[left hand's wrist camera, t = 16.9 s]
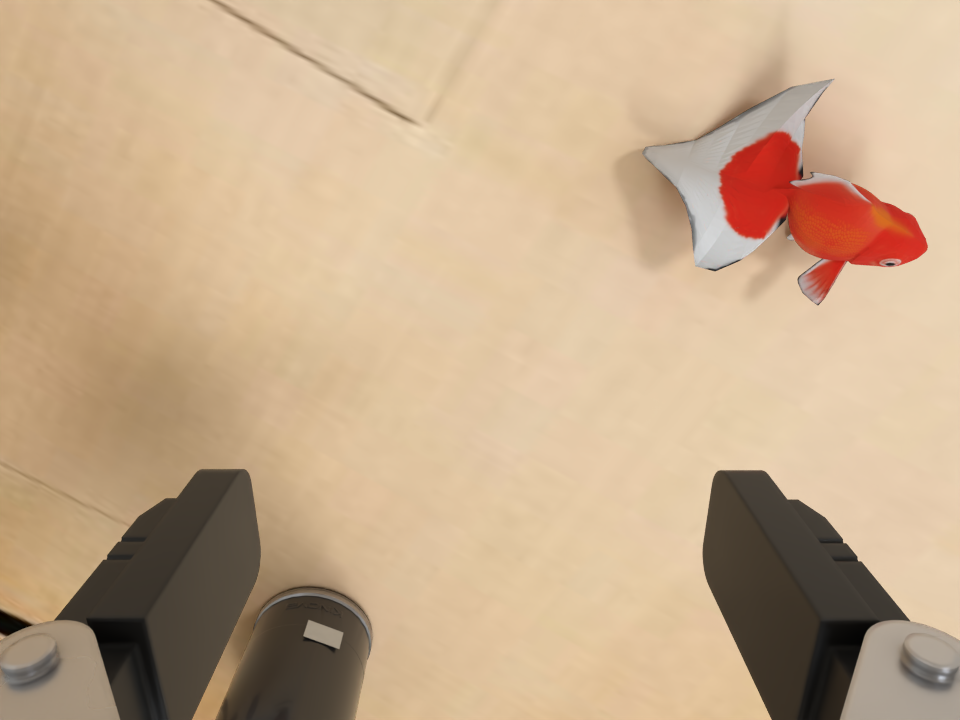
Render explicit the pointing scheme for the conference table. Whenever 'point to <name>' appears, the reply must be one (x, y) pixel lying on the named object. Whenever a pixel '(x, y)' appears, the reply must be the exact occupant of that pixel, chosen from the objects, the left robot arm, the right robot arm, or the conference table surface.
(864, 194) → the fish
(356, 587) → the conference table surface
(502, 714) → the conference table surface
